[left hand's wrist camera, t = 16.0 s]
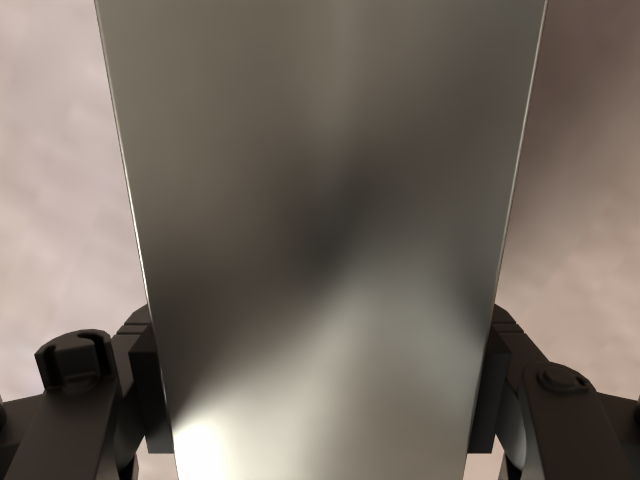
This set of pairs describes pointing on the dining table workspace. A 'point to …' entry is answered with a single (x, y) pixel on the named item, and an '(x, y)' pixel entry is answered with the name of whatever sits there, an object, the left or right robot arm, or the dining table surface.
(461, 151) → the bar
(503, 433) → the left robot arm
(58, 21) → the dining table surface
